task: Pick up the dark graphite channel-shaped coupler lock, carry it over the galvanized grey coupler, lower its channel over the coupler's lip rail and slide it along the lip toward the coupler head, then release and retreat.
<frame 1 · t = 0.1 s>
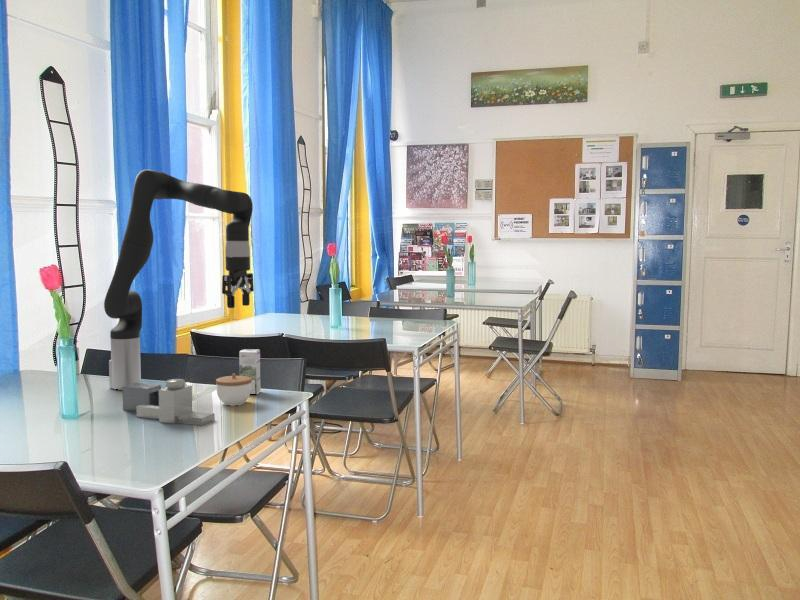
hand: (238, 306, 214), 29 cm above the table, fingers open, 8 cm apart
syrup box: (250, 394, 222), on the table
coupler: (154, 417, 191), on the table
coupler lock: (142, 409, 201), on the table
lidded jar: (234, 404, 208), on the table
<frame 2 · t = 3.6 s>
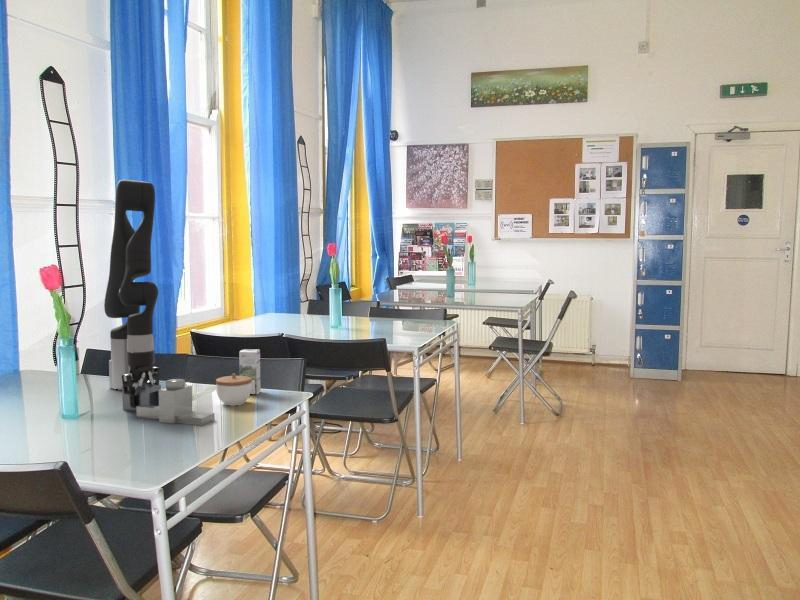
hand: (142, 404, 201), 1 cm above the table, fingers closed on coupler lock, 6 cm apart
coupler lock: (142, 408, 201), on the table, touching gripper
everything else where it was.
when the fingers open (2 cm above the table, at t = 9.3 s): coupler lock stays where it is, resting in coupler.
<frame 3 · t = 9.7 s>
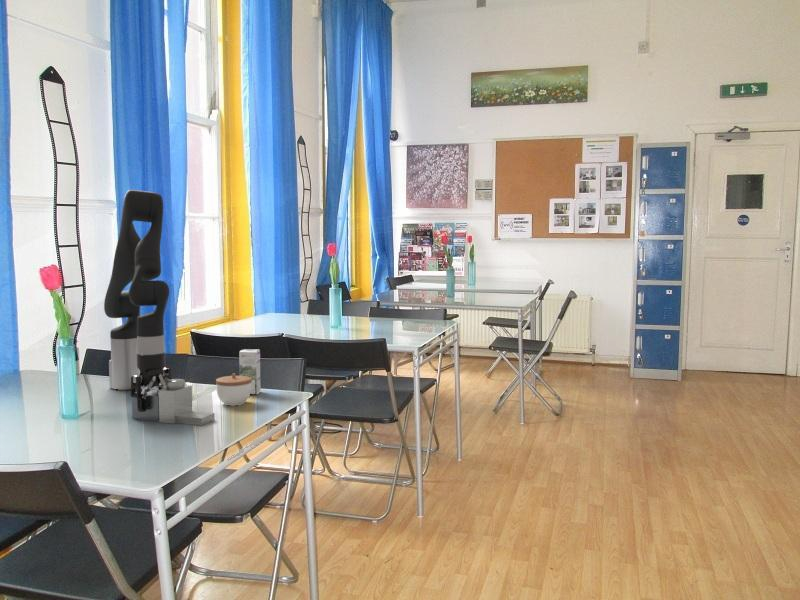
hand: (152, 408, 191), 3 cm above the table, fingers open, 8 cm apart
coupler lock: (152, 417, 192), resting in coupler
everything else where it was.
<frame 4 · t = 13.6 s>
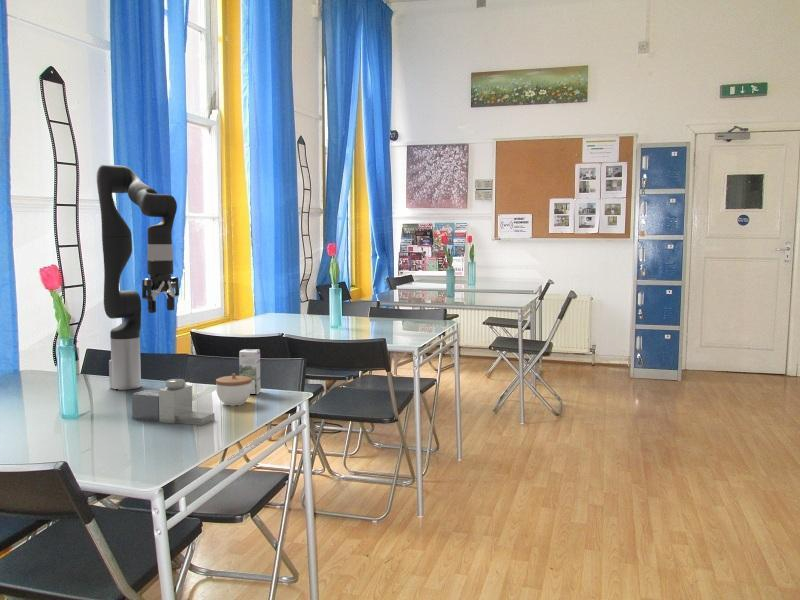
hand: (161, 311, 210), 28 cm above the table, fingers open, 8 cm apart
nothing on the table moved.
at the end: coupler lock 0.2 cm off-centre on the coupler, point 0.0 cm above the coupler's base; coupler lock tilted 0°; the gripper is holding nothing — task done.
